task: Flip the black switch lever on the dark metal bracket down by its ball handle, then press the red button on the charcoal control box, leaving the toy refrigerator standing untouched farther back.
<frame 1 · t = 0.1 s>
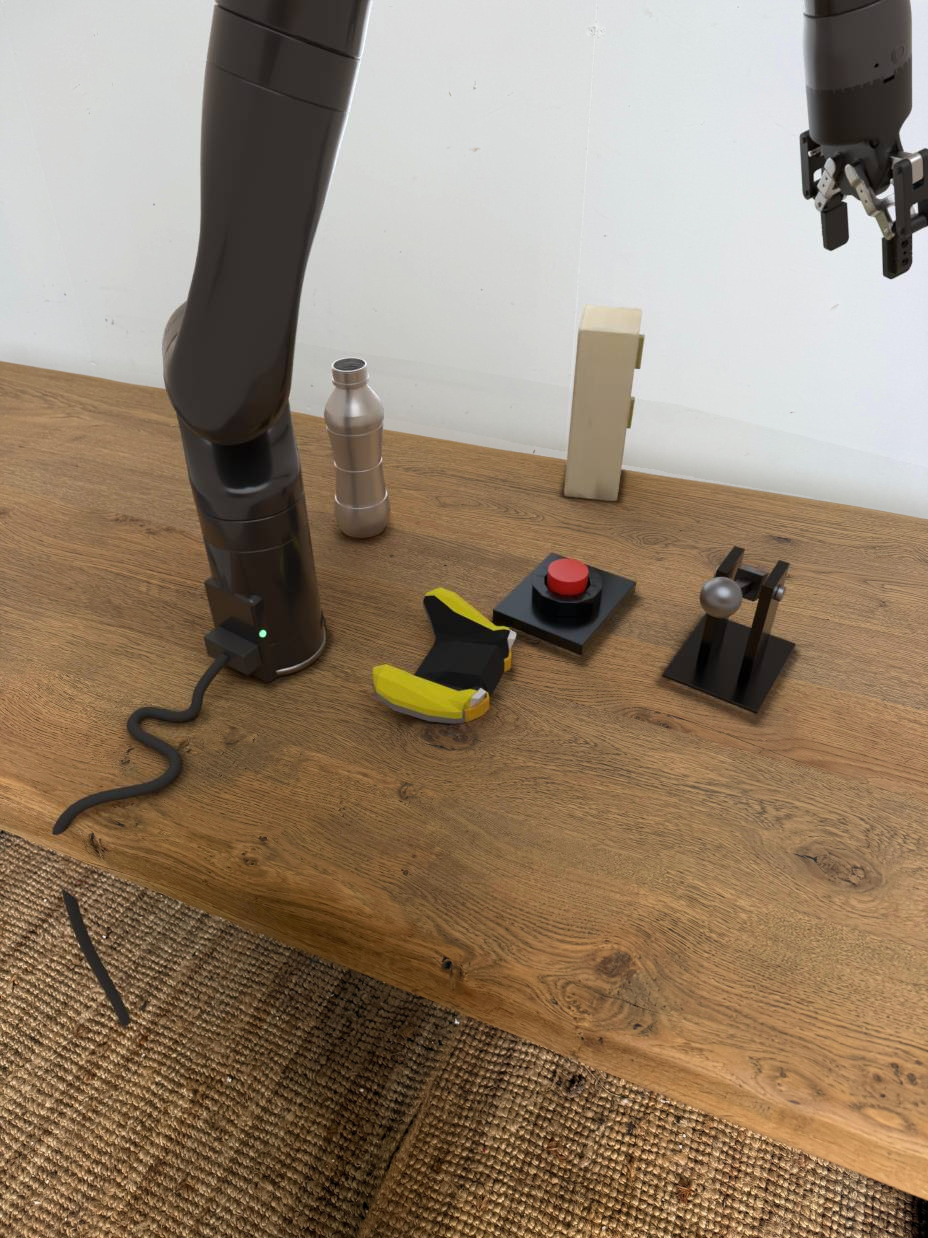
hand: (865, 259, 77), 31 cm above the table, tool tilted 20°, fingers open, 8 cm apart
gaming controller: (450, 683, 81), on the table
switch bracket: (728, 667, 82), on the table
toy refrigerator: (595, 485, 109), on the table
silver metal bottle: (364, 530, 101), on the table
switch lever: (735, 589, 71), point 12 cm above the table, hinge at 25.0°
control box: (564, 612, 89), on the table
start button: (567, 577, 86), point 4 cm above the table, slide at 0.1 cm
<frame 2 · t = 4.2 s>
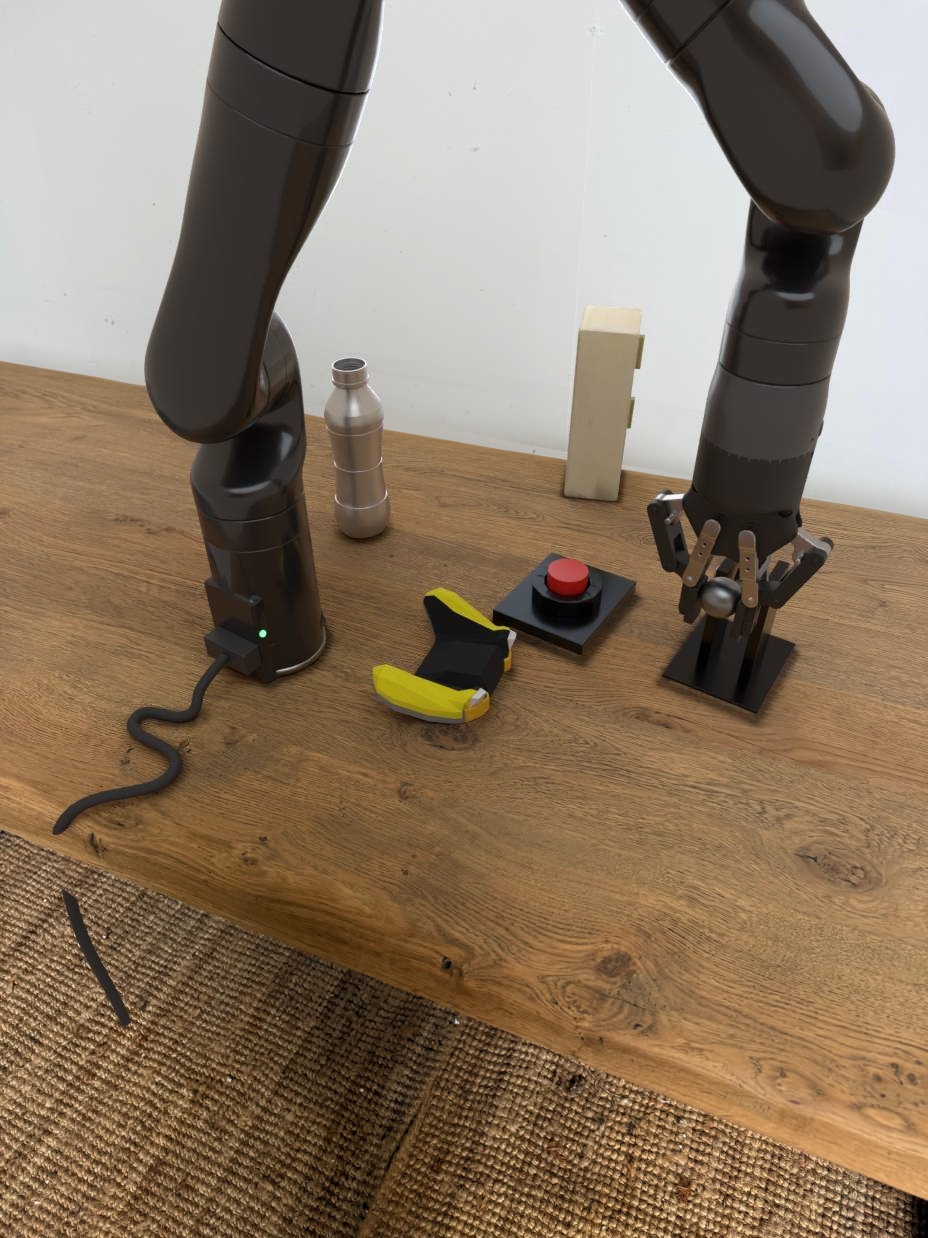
hand: (714, 625, 69), 11 cm above the table, tool pointing down, fingers closed on switch lever, 3 cm apart
switch lever: (735, 589, 71), point 12 cm above the table, hinge at 25.0°, touching gripper
everything else where it was.
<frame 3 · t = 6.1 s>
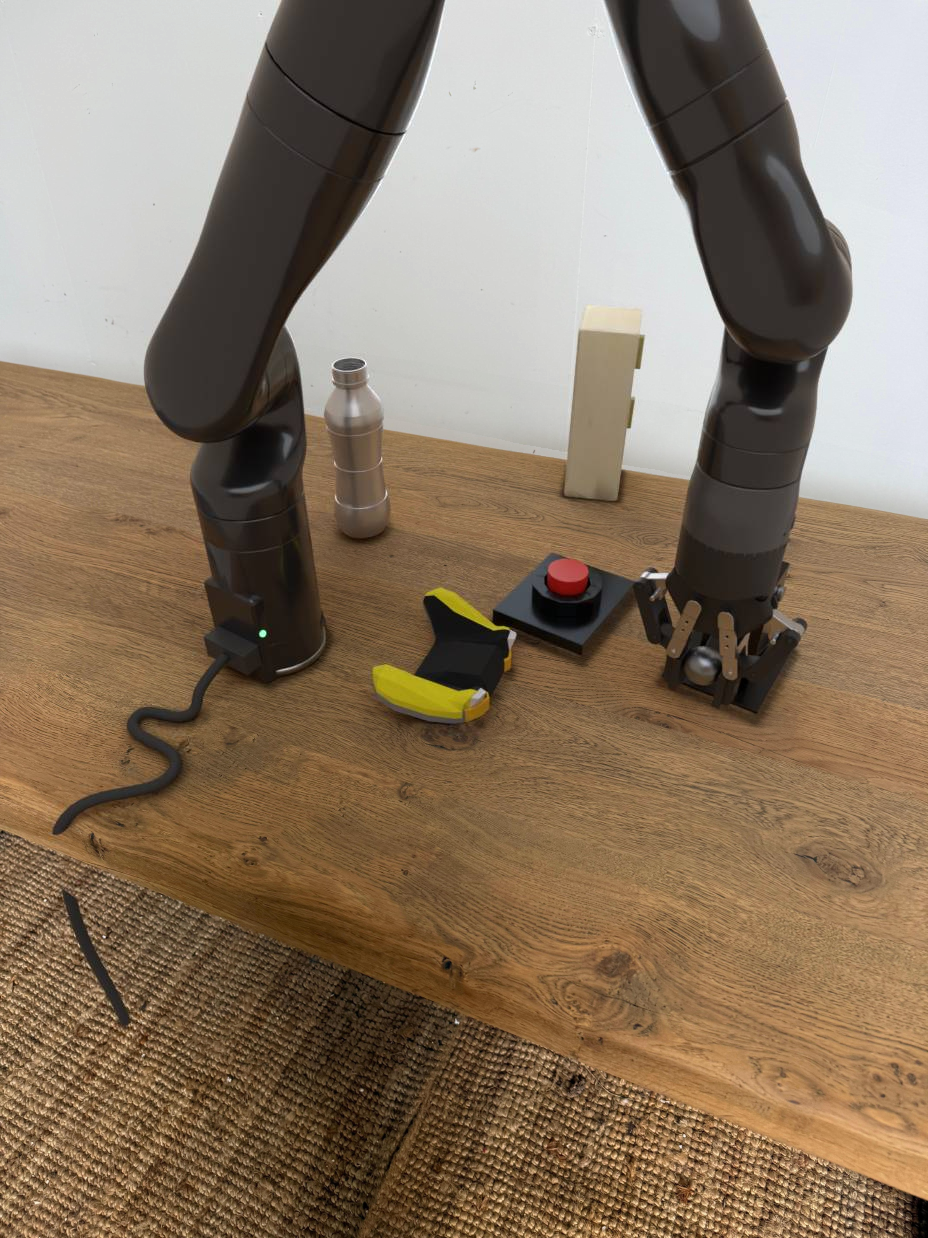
hand: (698, 693, 73), 4 cm above the table, tool pointing down, fingers closed on switch lever, 3 cm apart
switch lever: (726, 623, 73), point 9 cm above the table, hinge at -14.0°, touching gripper
everything else where it was.
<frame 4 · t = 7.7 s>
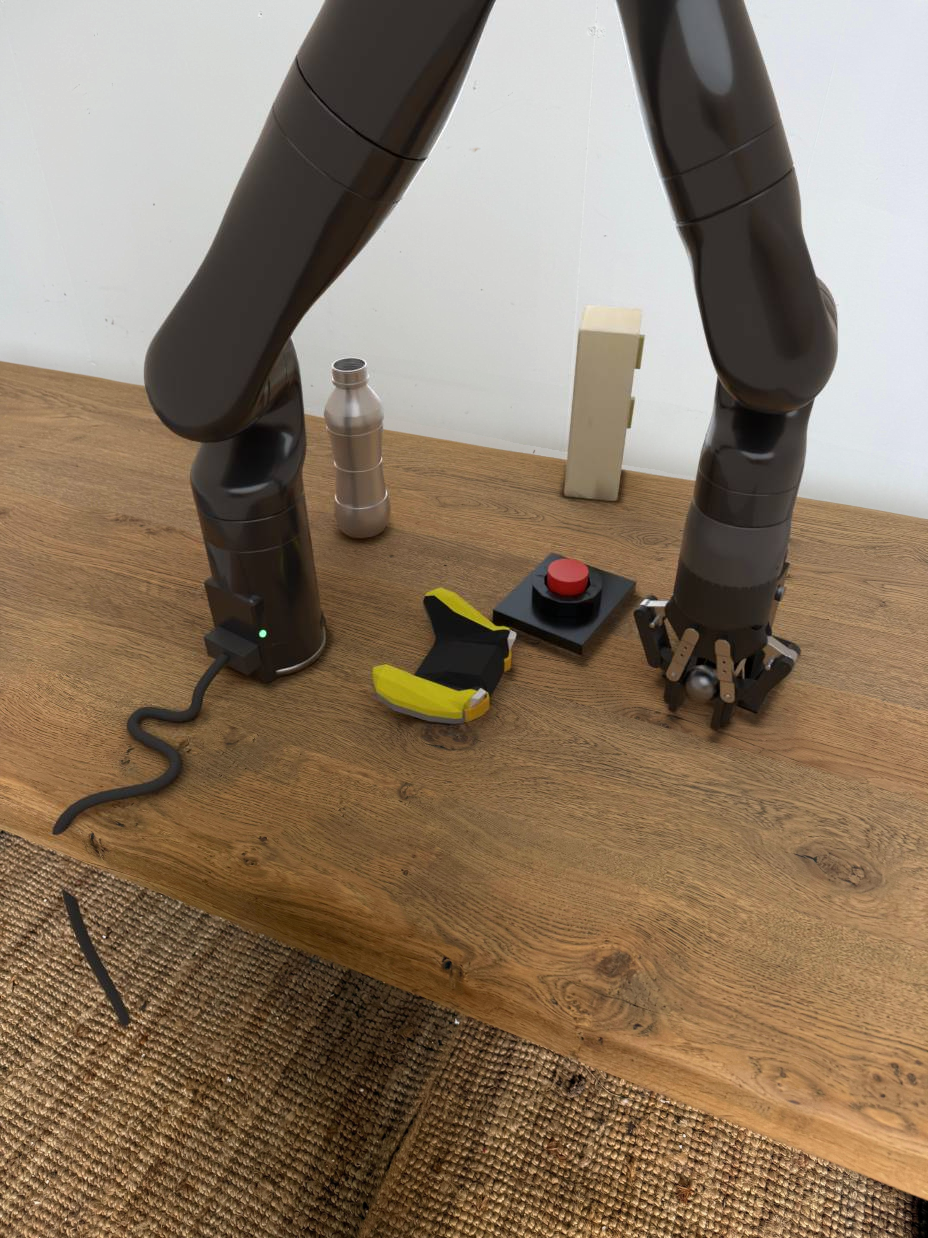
hand: (697, 713, 76), 1 cm above the table, tool pointing down, fingers closed on switch lever, 3 cm apart
switch lever: (726, 633, 75), point 7 cm above the table, hinge at -33.3°, touching gripper
everything else where it was.
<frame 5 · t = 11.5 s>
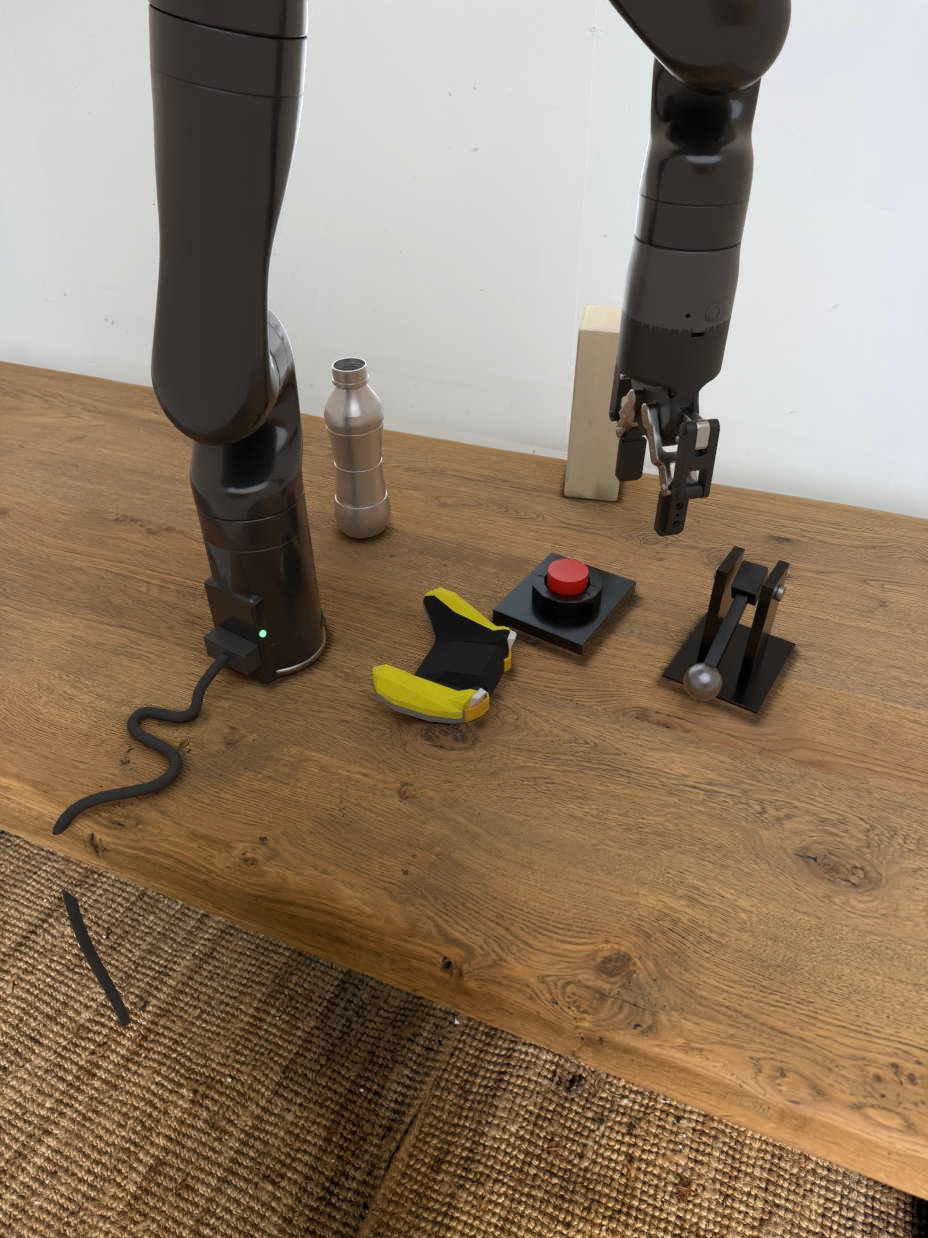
hand: (647, 504, 70), 18 cm above the table, tool pointing down, fingers open, 8 cm apart
switch lever: (726, 632, 74), point 7 cm above the table, hinge at -30.5°
everything else where it was.
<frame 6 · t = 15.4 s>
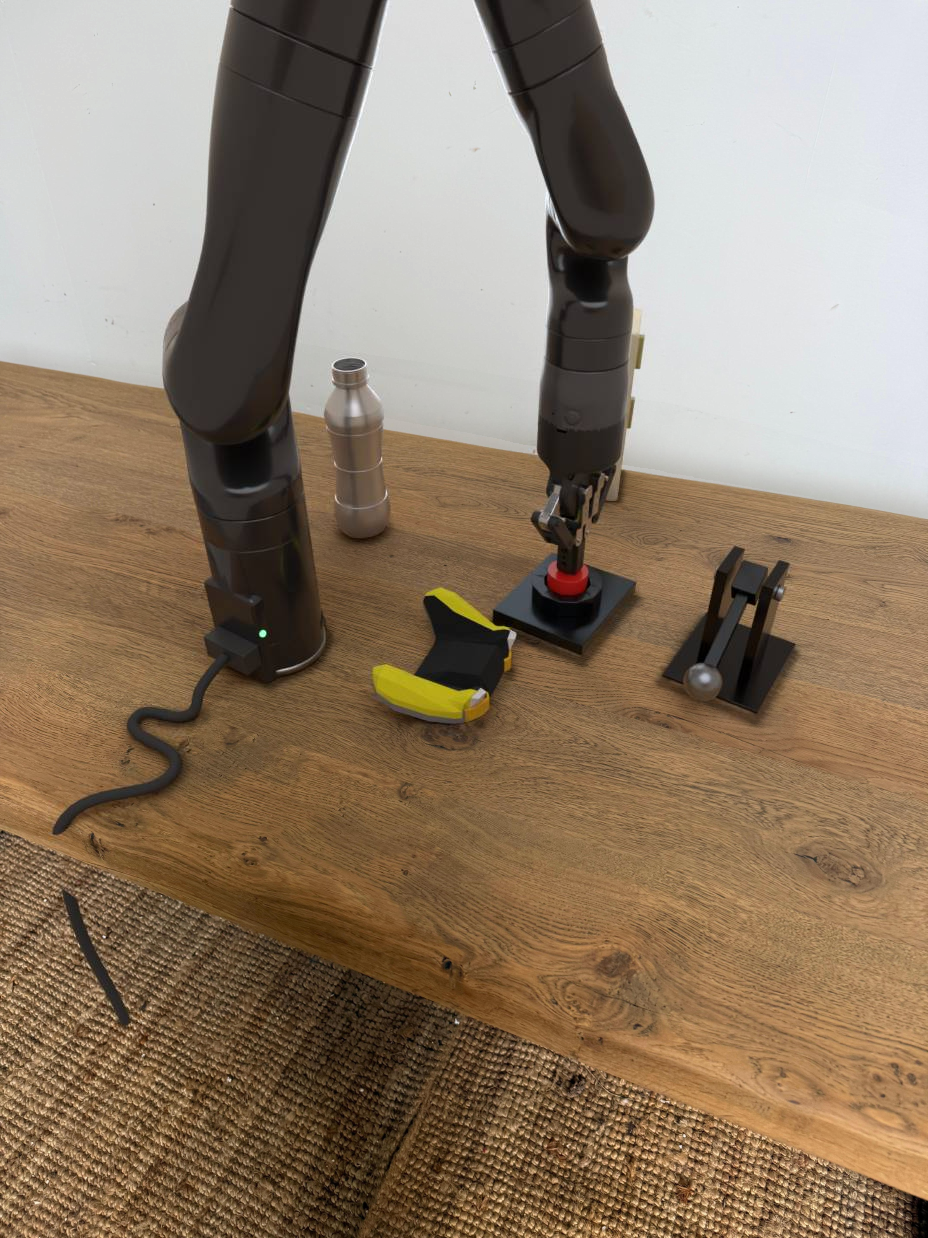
hand: (569, 569, 85), 5 cm above the table, tool pointing down, fingers closed
start button: (567, 577, 86), point 4 cm above the table, slide at 0.1 cm, touching gripper
everything else where it was.
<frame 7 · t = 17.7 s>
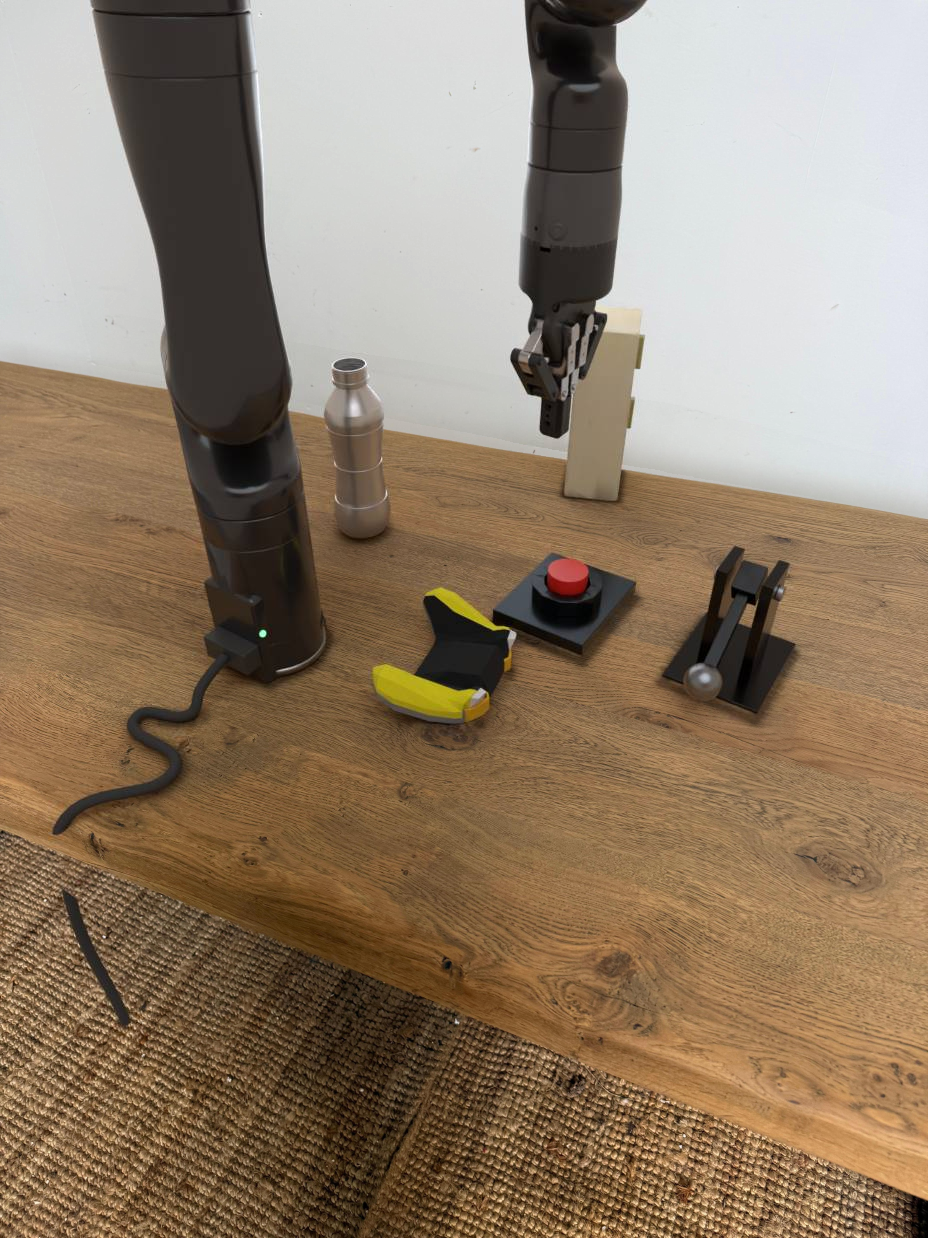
hand: (553, 433, 77), 19 cm above the table, tool pointing down, fingers closed
start button: (567, 577, 86), point 4 cm above the table, slide at 0.1 cm
everything else where it was.
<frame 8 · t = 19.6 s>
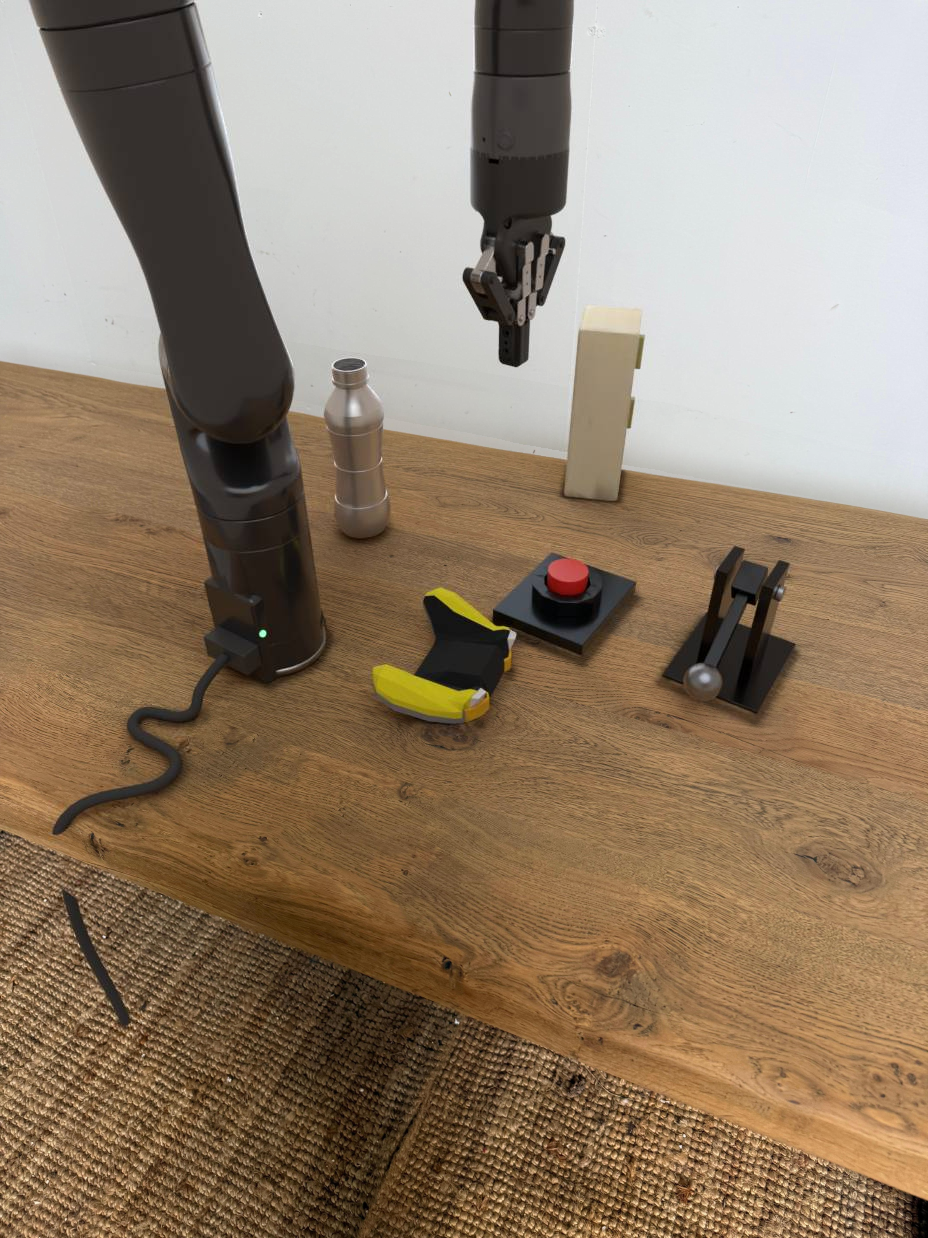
hand: (513, 362, 76), 25 cm above the table, tool pointing down, fingers closed
nothing on the table moved.
at the end: switch lever at -30° (first picture: +25°); start button pushed in 1.1 cm at the most during the clip, back to where it started at the end; toy refrigerator moved 0.2 cm from its start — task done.
